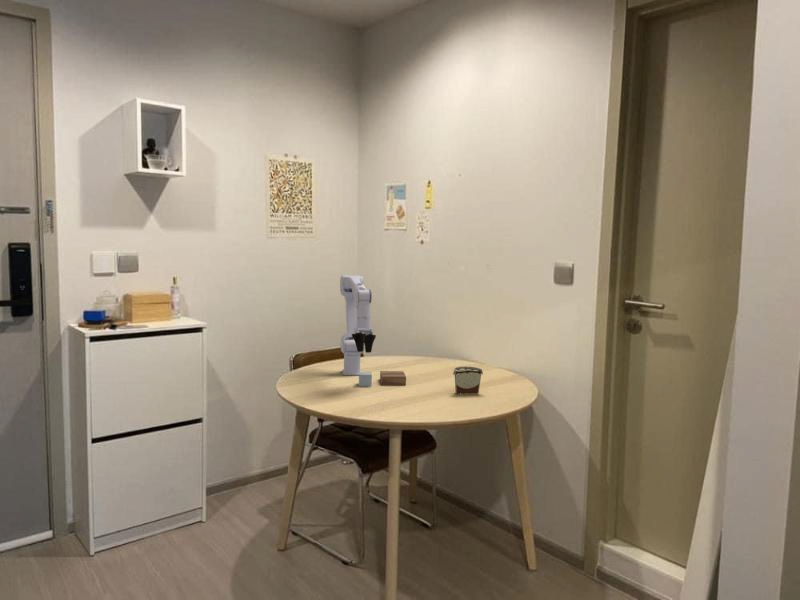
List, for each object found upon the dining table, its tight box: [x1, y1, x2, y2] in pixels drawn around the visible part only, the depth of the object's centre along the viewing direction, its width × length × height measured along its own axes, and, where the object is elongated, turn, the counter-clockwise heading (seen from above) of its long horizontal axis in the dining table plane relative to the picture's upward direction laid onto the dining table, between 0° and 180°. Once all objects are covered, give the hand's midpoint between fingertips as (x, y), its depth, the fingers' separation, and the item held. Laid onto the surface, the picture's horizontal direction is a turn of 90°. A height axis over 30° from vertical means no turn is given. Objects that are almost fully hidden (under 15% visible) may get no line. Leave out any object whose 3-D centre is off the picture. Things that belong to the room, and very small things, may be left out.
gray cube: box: [358, 371, 373, 387], centre depth 247 cm, size 5×5×5 cm
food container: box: [452, 366, 484, 395], centre depth 241 cm, size 12×6×10 cm, turn 104°
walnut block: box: [379, 370, 407, 386], centre depth 254 cm, size 10×10×4 cm
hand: (364, 352), depth 241 cm, fingers open, 7 cm apart
